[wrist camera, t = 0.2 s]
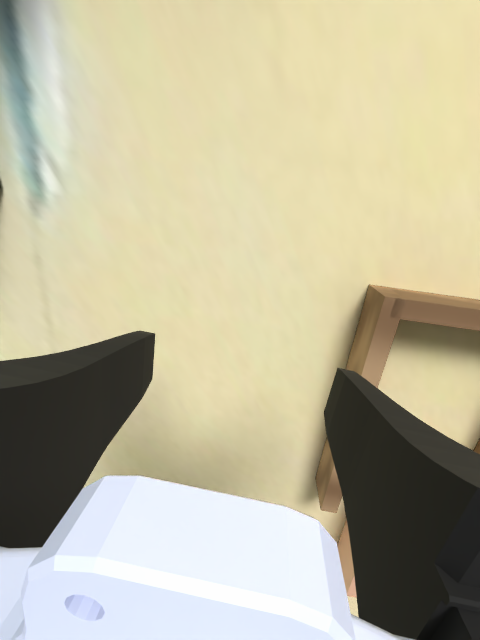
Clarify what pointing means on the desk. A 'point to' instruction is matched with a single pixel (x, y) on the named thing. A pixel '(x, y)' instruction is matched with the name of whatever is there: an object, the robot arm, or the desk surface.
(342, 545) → the pink cube-like block
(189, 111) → the desk surface
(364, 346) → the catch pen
